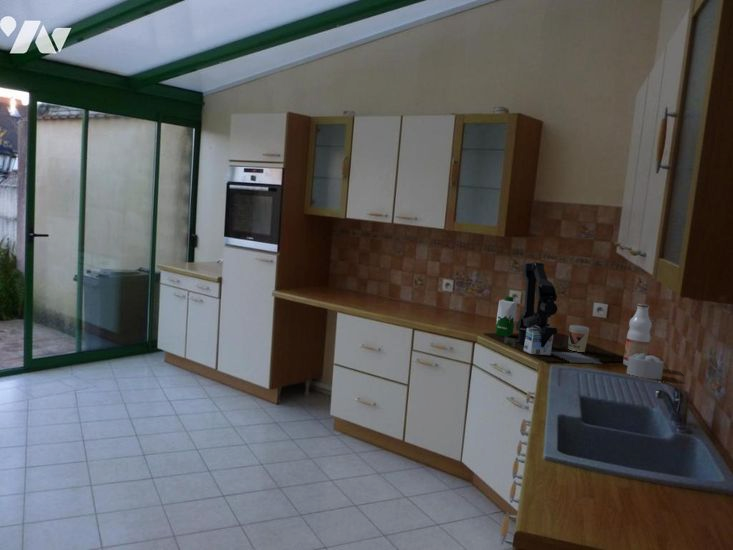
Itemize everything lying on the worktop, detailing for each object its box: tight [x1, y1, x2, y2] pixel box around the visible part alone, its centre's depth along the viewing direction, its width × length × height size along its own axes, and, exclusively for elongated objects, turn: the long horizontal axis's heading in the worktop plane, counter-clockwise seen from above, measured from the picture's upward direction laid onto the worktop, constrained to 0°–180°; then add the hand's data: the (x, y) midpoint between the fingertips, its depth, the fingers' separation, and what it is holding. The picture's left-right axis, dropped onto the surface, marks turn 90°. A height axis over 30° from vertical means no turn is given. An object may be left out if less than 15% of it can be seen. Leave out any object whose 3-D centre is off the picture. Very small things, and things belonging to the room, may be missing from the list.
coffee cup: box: [567, 324, 591, 353], centre depth 294 cm, size 9×9×12 cm
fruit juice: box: [622, 303, 653, 367], centre depth 272 cm, size 9×9×28 cm
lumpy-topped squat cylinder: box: [626, 353, 665, 380], centre depth 255 cm, size 10×13×9 cm
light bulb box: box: [523, 328, 554, 356], centre depth 278 cm, size 11×7×11 cm, turn 105°
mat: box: [551, 351, 603, 365], centre depth 276 cm, size 18×16×1 cm
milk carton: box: [495, 295, 518, 338], centre depth 316 cm, size 9×9×20 cm
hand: (538, 345), depth 278 cm, fingers closed on light bulb box, 7 cm apart
